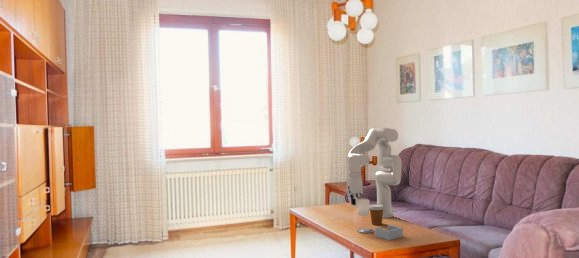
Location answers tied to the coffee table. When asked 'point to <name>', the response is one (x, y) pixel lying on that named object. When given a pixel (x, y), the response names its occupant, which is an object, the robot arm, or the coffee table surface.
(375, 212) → the disposable coffee cup
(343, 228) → the coffee table surface
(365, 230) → the grey round disc
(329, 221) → the coffee table surface
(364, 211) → the white lever knob
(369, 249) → the coffee table surface
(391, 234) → the holder
